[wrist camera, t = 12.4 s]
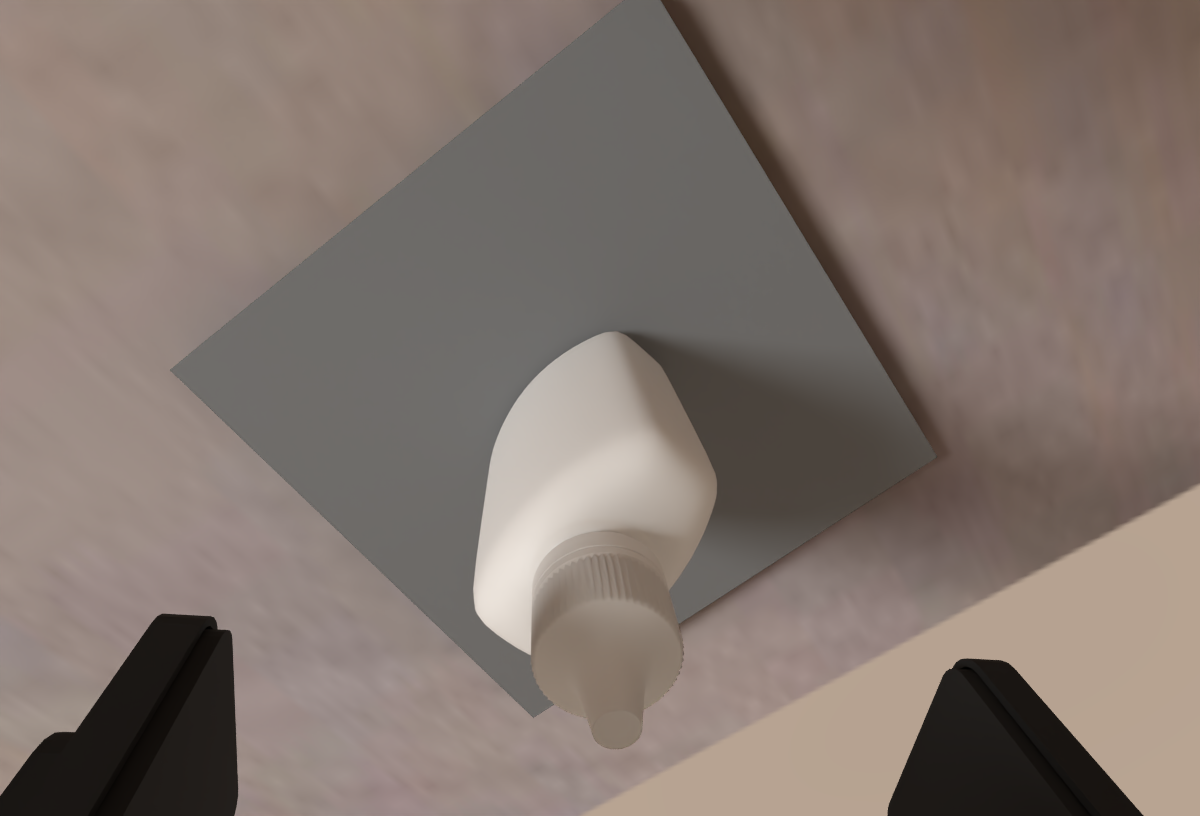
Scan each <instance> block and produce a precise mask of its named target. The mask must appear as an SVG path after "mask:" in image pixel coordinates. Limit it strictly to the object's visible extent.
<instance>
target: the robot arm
mask: <svg viewBox="0 0 1200 816" xmlns="http://www.w3.org/2000/svg"><path fill="white" fill-rule="evenodd" d="M237 799H238V775H237V749H236V723H235V697H234V671H233V645H232V634H231V632H230V631H229V630H218V629H217V622H216V620H215V618H214V617H211V616H194V615H176V614H161V615H159V616H157V617H156V618H155V620H154V621H153V622H152V623H151V625H150V626H149V627H148V629H147V630H146V632H145V633H144V635H143V636H142V637H141V639H140V640H139V642H138V643H137V645H136V646H135V647H134V649H133V650H132V652H131V653H130V655H129V656H128V657H127V659H126V660H125V662H124V663H123V665H122V666H121V667H120V669H119V670H118V672H117V673H116V675H115V676H114V677H113V679H112V680H111V682H110V683H109V685H108V686H107V687H106V689H105V690H104V692H103V693H102V695H101V696H100V697H99V699H98V700H97V702H96V703H95V705H94V706H93V707H92V709H91V710H90V712H89V713H88V715H87V716H86V717H85V719H84V720H83V722H82V723H81V725H80V726H79V727H78V729H77V730H76V732H57V733H54V734H52V735H51V736H49V737H48V738H46V739H44V740H43V742H42V743H41V744H40V745H39V746H38V747H37V748H36V749H35V750H34V752H33V753H32V754H31V755H30V757H29V758H28V759H27V761H26V762H25V763H24V765H23V766H22V768H21V769H20V770H19V772H18V773H17V774H16V776H15V777H14V778H13V780H12V781H11V782H10V784H9V785H8V786H7V788H6V789H5V790H4V792H3V793H2V794H1V796H0V816H234V814H235V810H236V805H237ZM888 816H1143V815H1142V814H1141V812H1140V811H1139V810H1138V809H1137V808H1136V807H1135V806H1134V804H1133V803H1132V802H1131V801H1130V800H1129V799H1128V798H1127V796H1126V795H1125V794H1124V793H1123V792H1122V791H1121V790H1120V789H1119V787H1118V786H1117V785H1116V784H1115V783H1114V782H1113V780H1112V779H1111V778H1110V777H1109V776H1108V775H1107V774H1106V772H1105V771H1104V770H1103V769H1102V768H1101V767H1100V766H1099V765H1098V763H1097V762H1096V761H1095V760H1094V759H1093V758H1092V756H1091V755H1090V754H1089V753H1088V752H1087V751H1086V750H1085V748H1084V747H1083V746H1082V745H1081V744H1080V743H1079V742H1078V740H1077V739H1076V738H1075V737H1074V736H1073V735H1072V734H1071V732H1070V731H1069V730H1068V729H1067V728H1066V727H1065V726H1064V724H1063V723H1062V722H1061V721H1060V720H1059V719H1058V718H1057V717H1056V715H1055V714H1054V713H1053V712H1052V711H1051V710H1050V709H1049V708H1048V706H1047V705H1046V704H1045V703H1044V702H1043V701H1042V699H1041V698H1040V697H1039V696H1038V695H1037V694H1036V693H1035V691H1034V690H1033V689H1032V688H1031V687H1030V686H1029V685H1028V683H1027V682H1026V681H1025V680H1024V679H1023V678H1022V677H1021V675H1020V674H1019V673H1018V672H1017V671H1016V670H1015V669H1014V668H1013V667H1012V666H1011V665H1010V664H1009V663H1007V662H1004V661H1001V660H984V659H983V660H982V659H961V660H959V661H958V662H956V663H955V665H954V666H953V668H952V669H949V670H948V671H946V672H945V674H944V675H943V677H942V680H941V682H940V684H939V687H938V689H937V692H936V694H935V696H934V699H933V701H932V704H931V706H930V708H929V710H928V713H927V715H926V718H925V720H924V722H923V725H922V727H921V729H920V732H919V734H918V736H917V739H916V741H915V744H914V746H913V749H912V751H911V753H910V755H909V758H908V760H907V763H906V765H905V768H904V770H903V772H902V774H901V777H900V779H899V782H898V784H897V787H896V789H895V791H894V793H893V796H892V798H891V801H890V803H889V807H888Z"/></svg>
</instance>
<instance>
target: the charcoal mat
mask: <svg viewBox="0 0 1200 816" xmlns="http://www.w3.org/2000/svg"><path fill="white" fill-rule="evenodd" d="M613 331H618V332H620V333H622V334H624V335H627V336H628V337H629V338H630V339H632V340H633V341H634V342H635V343H636V344H638V345H639V346H640V347H641V348H642V349H643V350H644V351H646V352H647V353H648V354H649V355H650V356H651V357H652V358H653V359H654V360H655V361H656V362H658V363H659V364H660V365H661V367H662V368H663V370H664V372H665V374H666V375H667V377H668V379H669V381H670V383H671V385H672V387H673V389H674V391H675V393H676V395H677V396H678V398H679V400H680V402H681V404H682V406H683V408H684V410H685V412H686V414H687V416H688V418H689V420H690V422H691V424H692V426H693V428H694V430H695V432H696V434H697V436H698V438H699V440H700V442H701V444H702V446H703V448H704V450H705V452H706V454H707V456H708V458H709V460H710V463H711V465H712V467H713V469H714V472H715V474H716V479H717V495H716V500H715V504H714V507H713V510H712V513H711V516H710V519H709V521H708V524H707V526H706V529H705V531H704V534H703V536H702V538H701V540H700V542H699V544H698V546H697V548H696V550H695V552H694V554H693V555H692V557H691V559H690V561H689V562H688V564H687V565H686V567H685V568H684V570H683V572H682V573H681V575H680V576H679V578H678V579H677V580H676V582H675V583H674V584H673V586H672V587H671V588H670V590H669V593H670V597H671V600H672V604H673V607H674V611H675V614H676V618H677V622H678V624H680V623H681V622H683V621H684V620H686V619H687V618H689V617H690V616H692V615H694V614H695V613H697V612H698V611H700V610H701V609H703V608H704V607H706V606H708V605H709V604H711V603H712V602H714V601H715V600H717V599H718V598H720V597H721V596H723V595H725V594H726V593H728V592H729V591H731V590H732V589H734V588H735V587H737V586H738V585H740V584H742V583H743V582H745V581H746V580H748V579H749V578H751V577H752V576H754V575H756V574H757V573H759V572H760V571H762V570H763V569H765V568H766V567H768V566H769V565H771V564H773V563H774V562H776V561H777V560H779V559H780V558H782V557H783V556H785V555H787V554H788V553H790V552H791V551H793V550H794V549H796V548H797V547H799V546H800V545H802V544H804V543H805V542H807V541H808V540H810V539H811V538H813V537H814V536H816V535H817V534H819V533H821V532H822V531H824V530H825V529H827V528H828V527H830V526H831V525H833V524H835V523H836V522H838V521H839V520H841V519H842V518H844V517H845V516H847V515H848V514H850V513H852V512H853V511H855V510H856V509H858V508H859V507H861V506H862V505H864V504H866V503H867V502H869V501H870V500H872V499H873V498H875V497H876V496H878V495H879V494H881V493H883V492H884V491H886V490H887V489H889V488H890V487H892V486H893V485H895V484H896V483H898V482H900V481H901V480H903V479H904V478H906V477H907V476H909V475H910V474H912V473H914V472H915V471H917V470H918V469H920V468H921V467H923V466H924V465H926V464H927V463H929V462H931V461H932V460H934V459H935V458H937V455H936V454H935V452H934V451H933V449H932V447H931V446H930V444H929V442H928V441H927V439H926V437H925V436H924V434H923V432H922V431H921V429H920V427H919V426H918V424H917V422H916V421H915V419H914V418H913V416H912V414H911V413H910V411H909V409H908V408H907V406H906V404H905V403H904V401H903V399H902V398H901V396H900V394H899V393H898V391H897V389H896V388H895V386H894V385H893V383H892V381H891V380H890V378H889V376H888V375H887V373H886V371H885V370H884V368H883V366H882V365H881V363H880V361H879V360H878V358H877V357H876V355H875V353H874V352H873V350H872V348H871V347H870V345H869V343H868V342H867V340H866V338H865V337H864V335H863V333H862V332H861V330H860V328H859V327H858V325H857V324H856V322H855V320H854V319H853V317H852V315H851V314H850V312H849V310H848V309H847V307H846V305H845V304H844V302H843V300H842V299H841V297H840V296H839V294H838V292H837V291H836V289H835V287H834V286H833V284H832V282H831V281H830V279H829V277H828V276H827V274H826V272H825V271H824V269H823V267H822V266H821V264H820V263H819V261H818V259H817V258H816V256H815V254H814V253H813V251H812V249H811V248H810V246H809V244H808V243H807V241H806V239H805V238H804V236H803V234H802V233H801V231H800V230H799V228H798V226H797V225H796V223H795V221H794V220H793V218H792V216H791V215H790V213H789V211H788V210H787V208H786V206H785V205H784V203H783V202H782V200H781V198H780V197H779V195H778V193H777V192H776V190H775V188H774V187H773V185H772V183H771V182H770V180H769V178H768V177H767V175H766V173H765V172H764V170H763V169H762V167H761V165H760V164H759V162H758V160H757V159H756V157H755V155H754V154H753V152H752V150H751V149H750V147H749V145H748V144H747V142H746V141H745V139H744V137H743V136H742V134H741V132H740V131H739V129H738V127H737V126H736V124H735V122H734V121H733V119H732V117H731V116H730V114H729V112H728V111H727V109H726V108H725V106H724V104H723V103H722V101H721V99H720V98H719V96H718V94H717V93H716V91H715V89H714V88H713V86H712V84H711V83H710V81H709V79H708V78H707V76H706V75H705V73H704V71H703V70H702V68H701V66H700V65H699V63H698V61H697V60H696V58H695V56H694V55H693V53H692V51H691V50H690V48H689V47H688V45H687V43H686V42H685V40H684V38H683V37H682V35H681V33H680V32H679V30H678V28H677V27H676V25H675V23H674V22H673V20H672V18H671V17H670V15H669V14H668V12H667V10H666V9H665V7H664V5H663V4H662V2H661V0H624V1H622V2H621V3H620V4H619V5H618V6H616V7H615V8H614V9H613V10H611V11H610V12H609V13H608V14H606V15H605V16H604V17H603V18H602V19H600V20H599V21H598V22H597V23H595V24H594V25H593V26H592V27H590V28H589V29H588V30H587V31H586V32H584V33H583V34H582V35H581V36H579V37H578V38H577V39H576V40H575V41H573V42H572V43H571V44H570V45H568V46H567V47H566V48H565V49H563V50H562V51H561V52H560V53H559V54H557V55H556V56H555V57H554V58H552V59H551V60H550V61H549V62H548V63H546V64H545V65H544V66H543V67H541V68H540V69H539V70H538V71H536V72H535V73H534V74H533V75H532V76H530V77H529V78H528V79H527V80H525V81H524V82H523V83H522V84H520V85H519V86H518V87H517V88H516V89H514V90H513V91H512V92H511V93H509V94H508V95H507V96H506V97H505V98H503V99H502V100H501V101H500V102H498V103H497V104H496V105H495V106H493V107H492V108H491V109H490V110H489V111H487V112H486V113H485V114H484V115H482V116H481V117H480V118H479V119H477V120H476V121H475V122H474V123H473V124H471V125H470V126H469V127H468V128H466V129H465V130H464V131H463V132H462V133H460V134H459V135H458V136H457V137H455V138H454V139H453V140H452V141H450V142H449V143H448V144H447V145H446V146H444V147H443V148H442V149H441V150H439V151H438V152H437V153H436V154H434V155H433V156H432V157H431V158H430V159H428V160H427V161H426V162H425V163H423V164H422V165H421V166H420V167H419V168H417V169H416V170H415V171H414V172H412V173H411V174H410V175H409V176H407V177H406V178H405V179H404V180H403V181H401V182H400V183H399V184H398V185H396V186H395V187H394V188H393V189H392V190H390V191H389V192H388V193H387V194H385V195H384V196H383V197H382V198H380V199H379V200H378V201H377V202H376V203H374V204H373V205H372V206H371V207H369V208H368V209H367V210H366V211H364V212H363V213H362V214H361V215H360V216H358V217H357V218H356V219H355V220H353V221H352V222H351V223H350V224H349V225H347V226H346V227H345V228H344V229H342V230H341V231H340V232H339V233H337V234H336V235H335V236H334V237H333V238H331V239H330V240H329V241H328V242H326V243H325V244H324V245H323V246H321V247H320V248H319V249H318V250H317V251H315V252H314V253H313V254H312V255H310V256H309V257H308V258H307V259H306V260H304V261H303V262H302V263H301V264H299V265H298V266H297V267H296V268H294V269H293V270H292V271H291V272H290V273H288V274H287V275H286V276H285V277H283V278H282V279H281V280H280V281H278V282H277V283H276V284H275V285H274V286H272V287H271V288H270V289H269V290H267V291H266V292H265V293H264V294H263V295H261V296H260V297H259V298H258V299H256V300H255V301H254V302H253V303H251V304H250V305H249V306H248V307H247V308H245V309H244V310H243V311H242V312H240V313H239V314H238V315H237V316H236V317H234V318H233V319H232V320H231V321H229V322H228V323H227V324H226V325H224V326H223V327H222V328H221V329H220V330H218V331H217V332H216V333H215V334H213V335H212V336H211V337H210V338H208V339H207V340H206V341H205V342H204V343H202V344H201V345H200V346H199V347H197V348H196V349H195V350H194V351H193V352H191V353H190V354H189V355H188V356H186V357H185V358H184V359H183V360H181V361H180V362H179V363H178V364H177V365H175V366H174V367H173V368H172V369H170V371H171V372H172V373H173V374H174V375H176V376H177V377H178V378H179V379H180V380H181V381H182V382H183V383H184V384H185V385H186V386H187V387H188V388H189V389H190V390H191V391H192V392H193V393H194V394H195V395H196V396H197V397H199V398H200V399H201V400H202V401H203V402H204V403H205V404H206V405H207V406H208V407H209V408H210V409H211V410H212V411H213V412H214V413H215V414H216V415H217V416H218V417H219V418H220V419H222V420H223V421H224V422H225V423H226V424H227V425H228V426H229V427H230V428H231V429H232V430H233V431H234V432H235V433H236V434H237V435H238V436H239V437H240V438H241V439H242V440H243V441H245V442H246V443H247V444H248V445H249V446H250V447H251V448H252V449H253V450H254V451H255V452H256V453H257V454H258V455H259V456H260V457H261V458H262V459H263V460H264V461H265V462H266V463H268V464H269V465H270V466H271V467H272V468H273V469H274V470H275V471H276V472H277V473H278V474H279V475H280V476H281V477H282V478H283V479H284V480H285V481H286V482H287V483H288V484H289V485H291V486H292V487H293V488H294V489H295V490H296V491H297V492H298V493H299V494H300V495H301V496H302V497H303V498H304V499H305V500H306V501H307V502H308V503H309V504H310V505H311V506H313V507H314V508H315V509H316V510H317V511H318V512H319V513H320V514H321V515H322V516H323V517H324V518H325V519H326V520H327V521H328V522H329V523H330V524H331V525H332V526H333V527H334V528H336V529H337V530H338V531H339V532H340V533H341V534H342V535H343V536H344V537H345V538H346V539H347V540H348V541H349V542H350V543H351V544H352V545H353V546H354V547H355V548H356V549H357V550H359V551H360V552H361V553H362V554H363V555H364V556H365V557H366V558H367V559H368V560H369V561H370V562H371V563H372V564H373V565H374V566H375V567H376V568H377V569H378V570H379V571H380V572H382V573H383V574H384V575H385V576H386V577H387V578H388V579H389V580H390V581H391V582H392V583H393V584H394V585H395V586H396V587H397V588H398V589H399V590H400V591H401V592H402V593H403V594H405V595H406V596H407V597H408V598H409V599H410V600H411V601H412V602H413V603H414V604H415V605H416V606H417V607H418V608H419V609H420V610H421V611H422V612H423V613H424V614H425V615H426V616H428V617H429V618H430V619H431V620H432V621H433V622H434V623H435V624H436V625H437V626H438V627H439V628H440V629H441V630H442V631H443V632H444V633H445V634H446V635H447V636H448V637H449V638H451V639H452V640H453V641H454V642H455V643H456V644H457V645H458V646H459V647H460V648H461V649H462V650H463V651H464V652H465V653H466V654H467V655H468V656H469V657H470V658H471V659H473V660H474V661H475V662H476V663H477V664H478V665H479V666H480V667H481V668H482V669H483V670H484V671H485V672H486V673H487V674H488V675H489V676H490V677H491V678H492V679H493V680H494V681H496V682H497V683H498V684H499V685H500V686H501V687H502V688H503V689H504V690H505V691H506V692H507V693H508V694H509V695H510V696H511V697H512V698H513V699H514V700H515V701H516V702H517V703H519V704H520V705H521V706H522V707H523V708H524V709H525V710H526V711H527V712H528V713H529V714H530V715H531V716H532V717H533V718H534V717H536V716H537V715H539V714H540V713H542V712H543V711H545V710H546V709H548V708H549V707H551V706H553V705H554V704H553V702H552V701H550V700H548V697H547V696H545V695H544V694H543V691H541V690H540V689H539V685H538V684H536V679H535V678H534V677H533V672H532V665H531V655H529V654H527V653H525V652H523V651H521V650H520V649H518V648H516V647H515V646H513V645H512V644H510V643H508V642H507V641H506V640H504V639H503V638H501V637H500V636H498V635H497V634H496V633H494V632H493V631H492V630H491V629H490V628H488V627H487V626H486V625H485V624H484V623H483V621H482V620H481V619H480V617H479V616H478V615H477V613H476V610H475V604H474V593H473V586H474V576H475V567H476V558H477V551H478V543H479V536H480V529H481V521H482V514H483V507H484V501H485V494H486V487H487V480H488V473H489V466H490V460H491V456H492V452H493V448H494V445H495V442H496V439H497V436H498V434H499V432H500V429H501V427H502V425H503V423H504V421H505V419H506V417H507V415H508V413H509V412H510V410H511V408H512V407H513V405H514V404H515V402H516V401H517V399H518V398H519V396H520V395H521V394H522V392H523V391H524V390H525V388H526V387H527V386H528V385H529V384H530V382H531V381H532V380H533V379H534V378H535V377H536V376H537V375H538V374H539V373H540V372H541V371H542V370H543V369H544V368H546V367H547V366H548V365H549V364H550V363H552V362H553V361H554V360H555V359H557V358H558V357H559V356H561V355H562V354H564V353H565V352H567V351H568V350H570V349H571V348H573V347H575V346H577V345H578V344H580V343H582V342H584V341H586V340H588V339H590V338H592V337H594V336H596V335H599V334H602V333H604V332H613Z"/></svg>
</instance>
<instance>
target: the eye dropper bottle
mask: <svg viewBox="0 0 1200 816" xmlns="http://www.w3.org/2000/svg"><path fill="white" fill-rule="evenodd" d="M716 495H717V479H716V474H715V472H714V469H713V467H712V465H711V463H710V460H709V458H708V456H707V454H706V452H705V450H704V448H703V446H702V444H701V442H700V440H699V438H698V436H697V434H696V432H695V430H694V428H693V426H692V424H691V422H690V420H689V418H688V416H687V414H686V412H685V410H684V408H683V406H682V404H681V402H680V400H679V398H678V396H677V395H676V393H675V391H674V389H673V387H672V385H671V383H670V381H669V379H668V377H667V375H666V374H665V372H664V370H663V368H662V367H661V365H660V364H659V363H658V362H656V361H655V360H654V359H653V358H652V357H651V356H650V355H649V354H648V353H647V352H646V351H644V350H643V349H642V348H641V347H640V346H639V345H638V344H636V343H635V342H634V341H633V340H632V339H630V338H629V337H628V336H627V335H624V334H622V333H620V332H618V331H613V332H604V333H602V334H599V335H596V336H594V337H592V338H590V339H588V340H586V341H584V342H582V343H580V344H578V345H577V346H575V347H573V348H571V349H570V350H568V351H567V352H565V353H564V354H562V355H561V356H559V357H558V358H557V359H555V360H554V361H553V362H552V363H550V364H549V365H548V366H547V367H546V368H544V369H543V370H542V371H541V372H540V373H539V374H538V375H537V376H536V377H535V378H534V379H533V380H532V381H531V382H530V384H529V385H528V386H527V387H526V388H525V390H524V391H523V392H522V394H521V395H520V396H519V398H518V399H517V401H516V402H515V404H514V405H513V407H512V408H511V410H510V412H509V413H508V415H507V417H506V419H505V421H504V423H503V425H502V427H501V429H500V432H499V434H498V436H497V439H496V442H495V445H494V448H493V452H492V456H491V460H490V466H489V473H488V480H487V487H486V494H485V501H484V507H483V514H482V521H481V529H480V536H479V543H478V551H477V558H476V567H475V576H474V586H473V593H474V604H475V610H476V613H477V615H478V616H479V617H480V619H481V620H482V621H483V623H484V624H485V625H486V626H487V627H488V628H490V629H491V630H492V631H493V632H494V633H496V634H497V635H498V636H500V637H501V638H503V639H504V640H506V641H507V642H508V643H510V644H512V645H513V646H515V647H516V648H518V649H520V650H521V651H523V652H525V653H527V654H529V655H531V665H532V672H533V677H534V678H535V679H536V684H538V685H539V689H540V690H541V691H543V694H544V695H545V696H547V697H548V700H550V701H552V702H553V704H555V705H557V706H559V708H561V709H563V710H565V711H566V712H569V713H571V714H574V715H577V716H580V717H584V718H587V720H588V723H589V726H590V728H591V731H592V734H593V737H594V739H595V741H596V742H597V743H598V744H600V745H601V746H603V747H605V748H609V749H622V748H625V747H628V746H630V745H632V744H633V743H635V742H636V741H637V740H638V738H639V737H640V735H641V732H642V724H643V710H644V709H646V708H648V707H649V706H651V705H653V704H654V703H655V702H657V701H658V700H659V699H660V698H662V697H663V696H664V694H666V693H667V692H668V691H669V689H670V688H671V687H672V686H673V683H674V682H675V681H676V680H677V676H678V675H679V674H680V671H679V670H680V669H681V668H682V662H683V655H684V651H683V648H684V646H683V639H682V636H681V632H680V629H679V625H678V622H677V618H676V614H675V611H674V607H673V604H672V600H671V597H670V593H669V590H670V588H671V587H672V586H673V584H674V583H675V582H676V580H677V579H678V578H679V576H680V575H681V573H682V572H683V570H684V568H685V567H686V565H687V564H688V562H689V561H690V559H691V557H692V555H693V554H694V552H695V550H696V548H697V546H698V544H699V542H700V540H701V538H702V536H703V534H704V531H705V529H706V526H707V524H708V521H709V519H710V516H711V513H712V510H713V507H714V504H715V500H716Z"/></svg>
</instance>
